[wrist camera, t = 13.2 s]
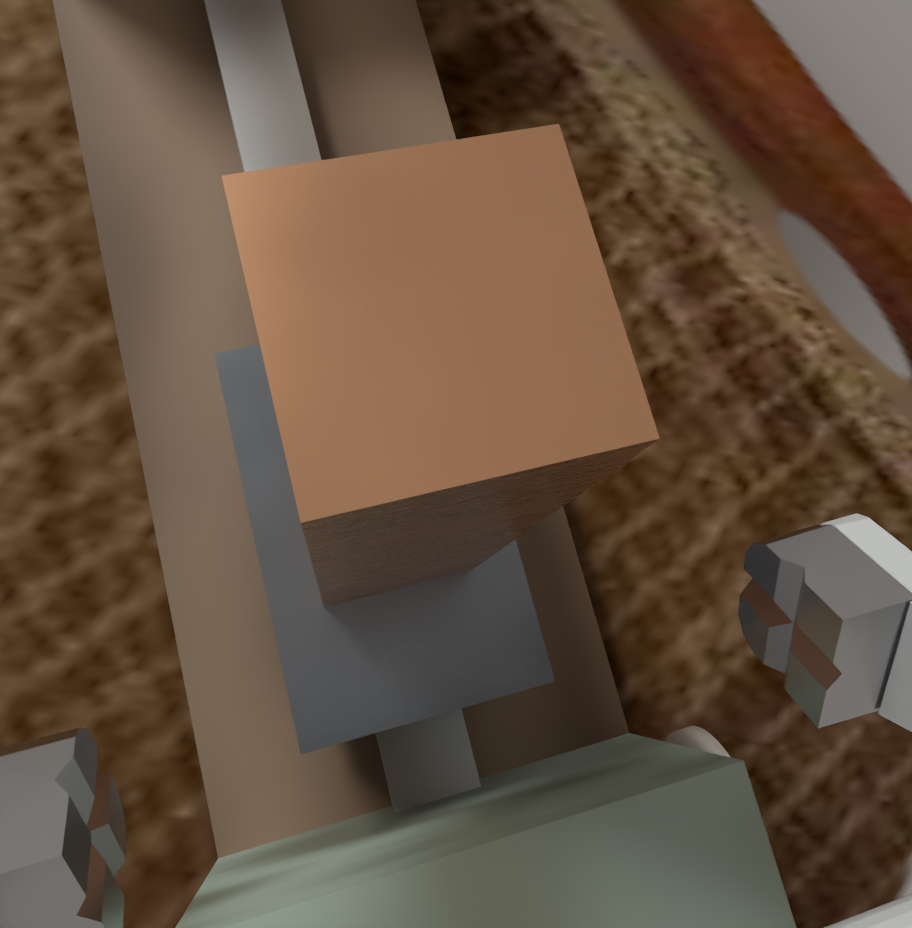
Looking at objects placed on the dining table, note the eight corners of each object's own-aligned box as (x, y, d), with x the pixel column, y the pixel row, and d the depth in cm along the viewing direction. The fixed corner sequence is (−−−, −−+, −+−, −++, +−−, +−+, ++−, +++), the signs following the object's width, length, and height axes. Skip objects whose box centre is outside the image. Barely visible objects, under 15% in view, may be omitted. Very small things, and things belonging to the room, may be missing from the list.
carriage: (306, 740, 18) (235, 909, 6) (232, 398, 20) (46, -63, 7) (522, 678, 19) (870, 708, 7) (435, 357, 21) (582, -114, 8)
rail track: (255, 991, 19) (205, 1185, 12) (44, -88, 25) (-74, -389, 18) (662, 854, 21) (827, 951, 14) (378, -119, 27) (393, -401, 20)
